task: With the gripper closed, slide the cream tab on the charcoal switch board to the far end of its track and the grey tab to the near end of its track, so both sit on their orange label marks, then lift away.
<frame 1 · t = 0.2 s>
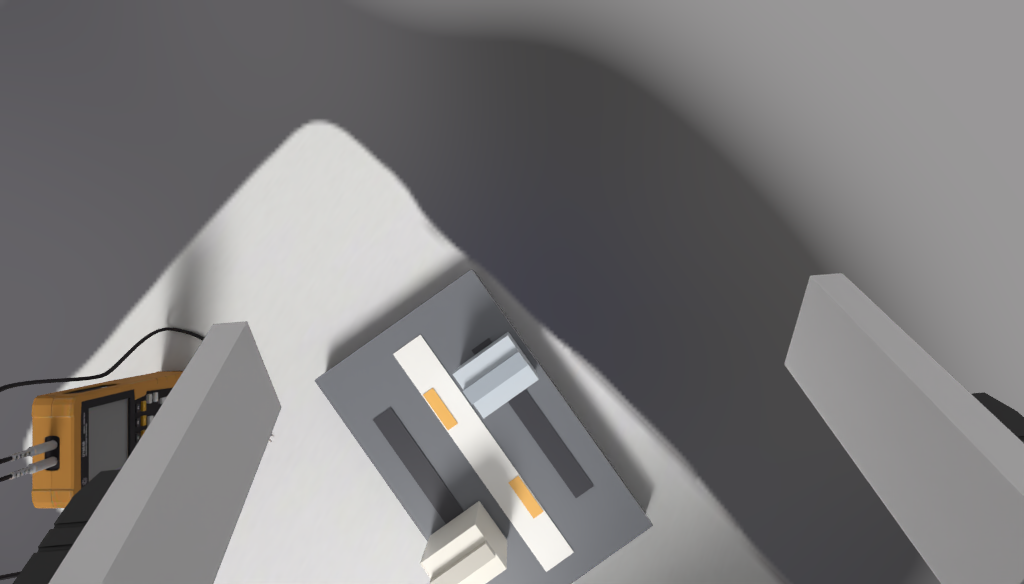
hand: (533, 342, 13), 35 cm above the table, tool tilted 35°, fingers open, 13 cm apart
cream tab: (465, 553, 43), point 5 cm above the table, slide at 0.0 cm
grey tab: (496, 373, 43), point 5 cm above the table, slide at 10.0 cm
multimeter: (218, 410, 49), on the table
switch board: (484, 444, 48), on the table
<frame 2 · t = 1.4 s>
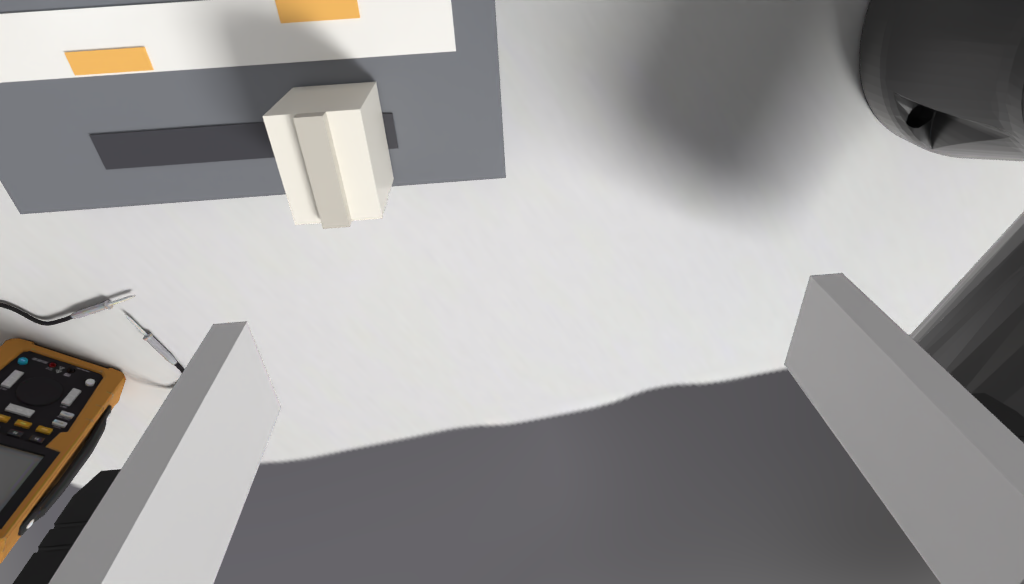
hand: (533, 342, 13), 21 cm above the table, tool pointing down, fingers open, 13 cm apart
cream tab: (335, 153, 26), point 5 cm above the table, slide at 0.0 cm
multimeter: (80, 328, 37), on the table
switch board: (232, 26, 28), on the table
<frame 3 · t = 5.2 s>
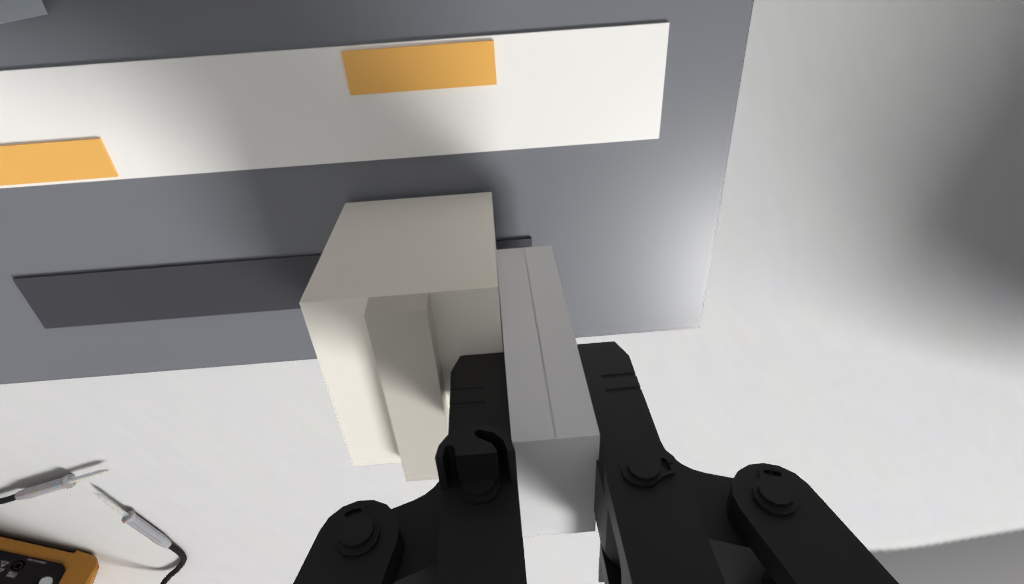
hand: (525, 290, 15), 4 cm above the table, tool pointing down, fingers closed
cream tab: (424, 329, 14), point 5 cm above the table, slide at 0.6 cm, touching gripper
multimeter: (31, 504, 26), on the table
switch board: (258, 90, 16), on the table
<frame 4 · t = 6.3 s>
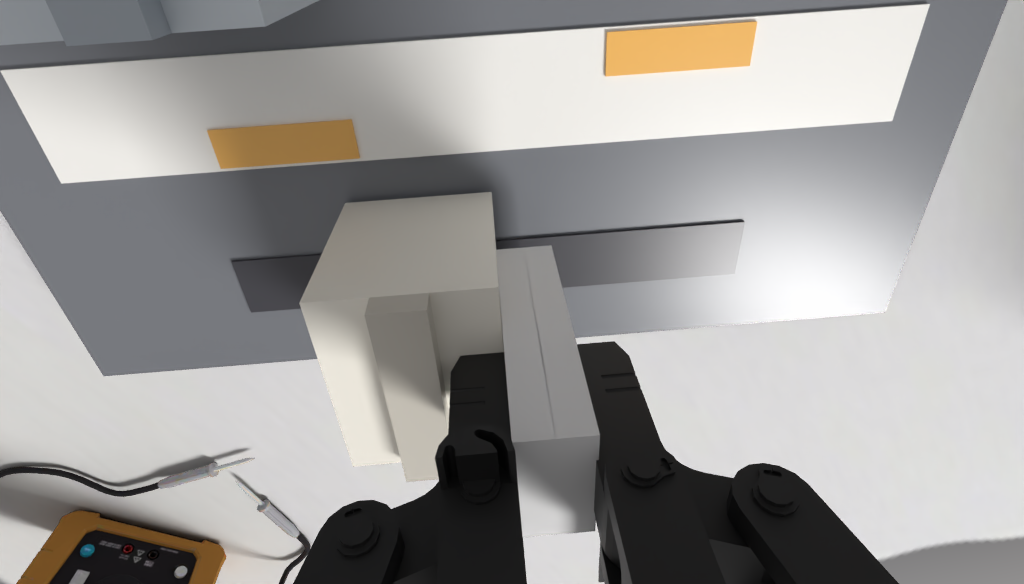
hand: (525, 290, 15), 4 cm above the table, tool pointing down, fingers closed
cream tab: (424, 330, 14), point 5 cm above the table, slide at 6.8 cm, touching gripper
multimeter: (166, 493, 26), on the table
switch board: (476, 74, 16), on the table
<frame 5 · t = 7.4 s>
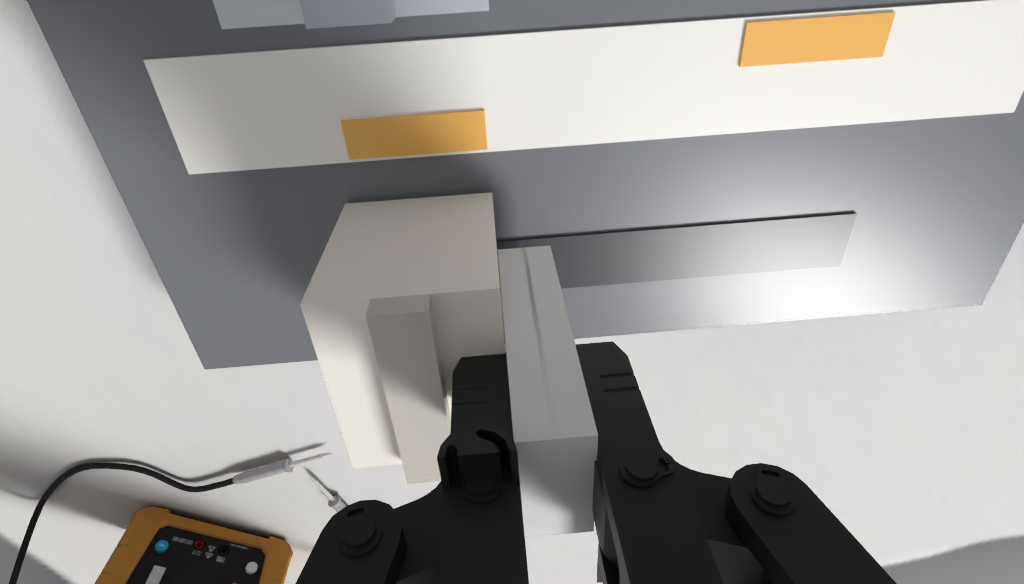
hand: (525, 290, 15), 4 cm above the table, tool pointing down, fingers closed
cream tab: (425, 331, 14), point 5 cm above the table, slide at 10.2 cm, touching gripper
multimeter: (237, 489, 26), on the table
switch board: (591, 66, 16), on the table
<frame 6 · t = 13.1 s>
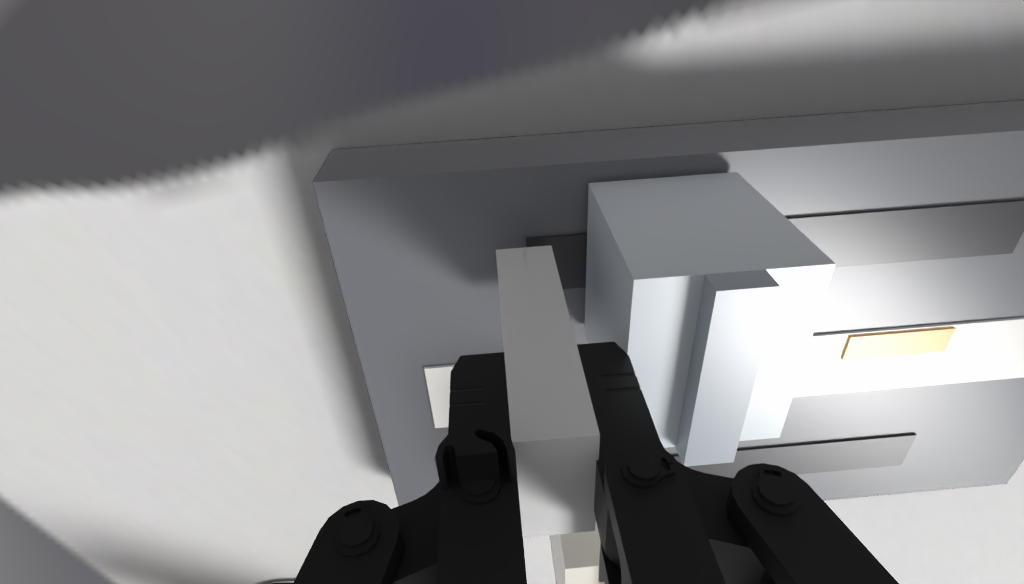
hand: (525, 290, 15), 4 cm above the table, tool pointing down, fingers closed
cream tab: (612, 544, 19), point 5 cm above the table, slide at 10.1 cm
grey tab: (684, 312, 14), point 5 cm above the table, slide at 8.8 cm, touching gripper
switch board: (719, 327, 21), on the table
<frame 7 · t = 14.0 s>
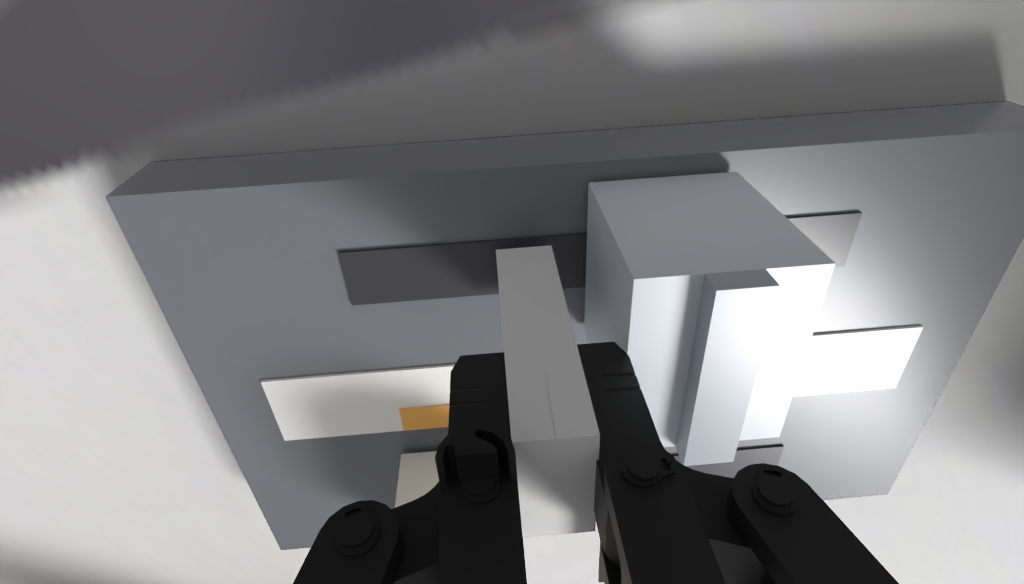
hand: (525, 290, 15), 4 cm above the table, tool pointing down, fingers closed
cream tab: (462, 558, 19), point 5 cm above the table, slide at 10.1 cm
grey tab: (684, 311, 14), point 5 cm above the table, slide at 3.5 cm, touching gripper
switch board: (583, 338, 21), on the table
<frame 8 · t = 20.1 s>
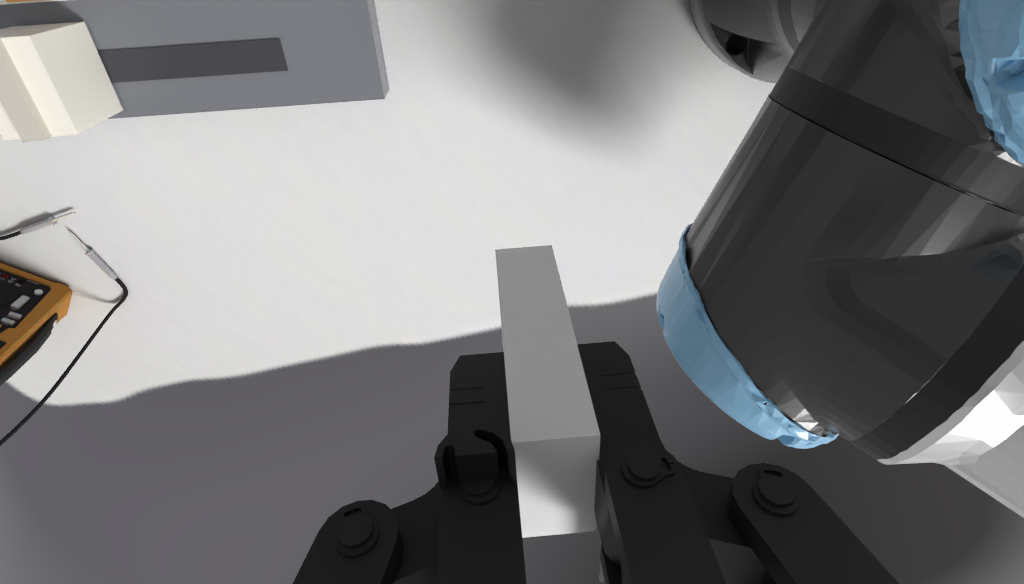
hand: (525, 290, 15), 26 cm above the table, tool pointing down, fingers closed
cream tab: (41, 80, 31), point 5 cm above the table, slide at 10.1 cm
multimeter: (29, 244, 42), on the table
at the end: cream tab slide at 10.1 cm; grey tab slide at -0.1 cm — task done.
